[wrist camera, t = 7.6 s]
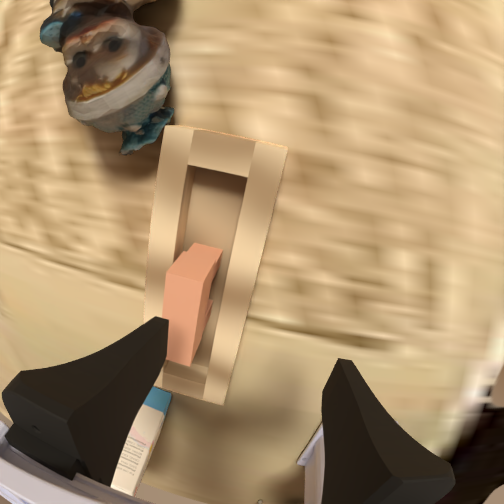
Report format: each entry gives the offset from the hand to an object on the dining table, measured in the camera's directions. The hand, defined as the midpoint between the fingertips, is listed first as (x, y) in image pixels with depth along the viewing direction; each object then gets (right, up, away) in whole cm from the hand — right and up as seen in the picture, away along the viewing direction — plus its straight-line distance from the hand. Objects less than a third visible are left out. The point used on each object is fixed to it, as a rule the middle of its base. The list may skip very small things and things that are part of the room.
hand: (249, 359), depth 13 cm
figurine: (-8, +18, +5) cm, 20 cm away
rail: (-3, +3, +10) cm, 11 cm away
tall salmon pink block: (-3, +3, +10) cm, 10 cm away
